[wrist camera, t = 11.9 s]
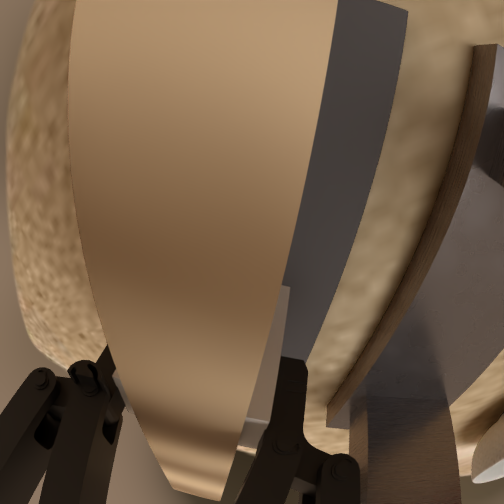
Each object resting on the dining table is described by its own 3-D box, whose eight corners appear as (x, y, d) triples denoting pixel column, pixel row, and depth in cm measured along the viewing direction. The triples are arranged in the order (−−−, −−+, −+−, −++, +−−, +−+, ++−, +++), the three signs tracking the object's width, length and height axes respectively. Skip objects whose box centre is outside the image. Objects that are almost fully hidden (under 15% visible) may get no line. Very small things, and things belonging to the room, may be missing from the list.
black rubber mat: (167, -15, 9) (161, -18, 8) (404, 13, 8) (408, 11, 7) (168, 383, 24) (166, 388, 24) (280, 410, 23) (279, 416, 23)
